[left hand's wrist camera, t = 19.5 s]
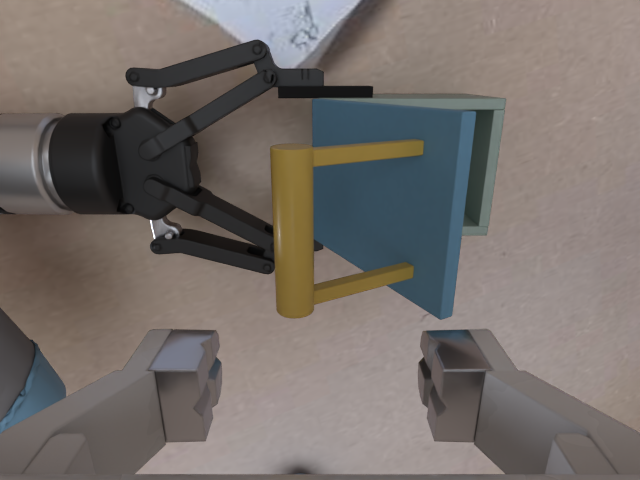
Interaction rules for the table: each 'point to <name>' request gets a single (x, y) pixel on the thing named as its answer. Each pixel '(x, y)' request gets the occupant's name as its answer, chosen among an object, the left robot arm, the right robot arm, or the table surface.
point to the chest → (482, 148)
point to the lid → (372, 203)
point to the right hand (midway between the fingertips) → (367, 164)
